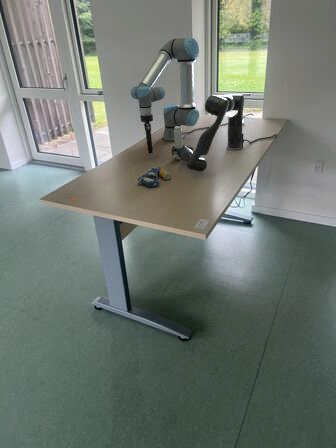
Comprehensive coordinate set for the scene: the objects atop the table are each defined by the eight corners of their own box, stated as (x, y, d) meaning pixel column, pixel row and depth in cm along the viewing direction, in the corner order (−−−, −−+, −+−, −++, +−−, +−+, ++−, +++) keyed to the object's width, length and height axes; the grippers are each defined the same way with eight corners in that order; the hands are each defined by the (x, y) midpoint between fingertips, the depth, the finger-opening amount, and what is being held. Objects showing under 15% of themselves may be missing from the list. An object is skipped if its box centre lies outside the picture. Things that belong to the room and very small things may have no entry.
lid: (149, 146, 215) (149, 142, 214) (155, 147, 212) (155, 144, 211) (143, 148, 211) (143, 145, 210) (150, 150, 208) (149, 146, 207)
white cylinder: (181, 159, 209) (179, 128, 198) (174, 158, 211) (172, 127, 201) (184, 157, 212) (183, 126, 202) (178, 156, 214) (176, 125, 204)
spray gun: (175, 173, 189) (152, 171, 196) (175, 166, 187) (151, 164, 193) (159, 190, 174) (134, 186, 180) (158, 182, 172) (133, 179, 178)
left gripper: (139, 111, 209) (143, 147, 220) (141, 118, 193) (145, 157, 205) (151, 110, 209) (154, 146, 221) (154, 117, 193) (157, 155, 205)
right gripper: (198, 146, 196) (187, 139, 210) (174, 150, 193) (166, 142, 207) (198, 158, 200) (188, 150, 214) (175, 163, 197) (167, 154, 211)
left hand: (150, 151), depth 213 cm, fingers closed on lid, 5 cm apart
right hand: (177, 146), depth 210 cm, fingers closed on white cylinder, 5 cm apart
